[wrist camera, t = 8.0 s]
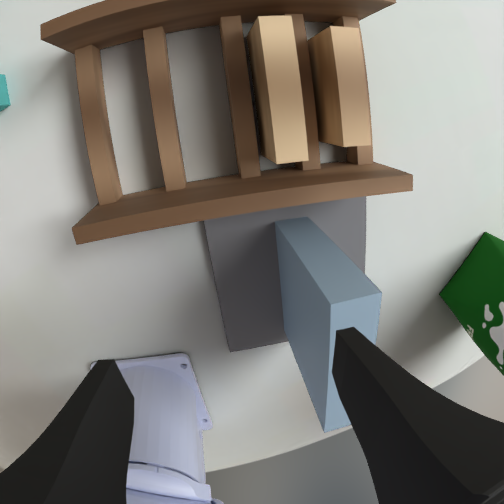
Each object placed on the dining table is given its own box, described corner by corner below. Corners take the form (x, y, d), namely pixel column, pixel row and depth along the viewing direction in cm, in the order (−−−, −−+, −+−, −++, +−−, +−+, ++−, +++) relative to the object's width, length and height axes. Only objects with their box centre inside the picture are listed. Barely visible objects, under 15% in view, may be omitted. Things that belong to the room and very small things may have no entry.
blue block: (311, 324, 22) (360, 421, 14) (284, 330, 22) (324, 432, 14) (307, 216, 19) (382, 292, 11) (274, 221, 19) (330, 304, 10)
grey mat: (358, 320, 23) (360, 323, 23) (229, 348, 22) (230, 352, 22) (363, 192, 19) (366, 193, 19) (203, 215, 18) (203, 218, 18)
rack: (366, 172, 19) (412, 190, 14) (105, 212, 17) (76, 244, 13) (350, 13, 14) (393, -11, 10) (78, 44, 13) (40, 24, 8)
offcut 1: (286, 151, 18) (308, 160, 14) (261, 154, 18) (276, 163, 14) (272, 36, 15) (291, 15, 11) (246, 37, 15) (258, 16, 11)
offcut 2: (338, 138, 18) (370, 145, 14) (315, 140, 18) (343, 146, 14) (328, 43, 15) (358, 28, 12) (304, 42, 15) (330, 26, 12)
